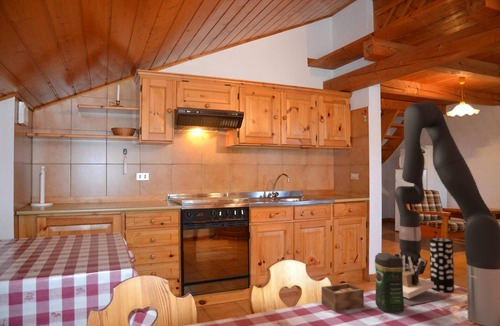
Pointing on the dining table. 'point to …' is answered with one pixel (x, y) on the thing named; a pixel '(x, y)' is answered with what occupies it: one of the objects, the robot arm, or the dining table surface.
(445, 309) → the dining table surface
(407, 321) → the dining table surface
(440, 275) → the spotted tube
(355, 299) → the tea box
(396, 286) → the coffee jar
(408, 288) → the lid
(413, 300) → the mat
